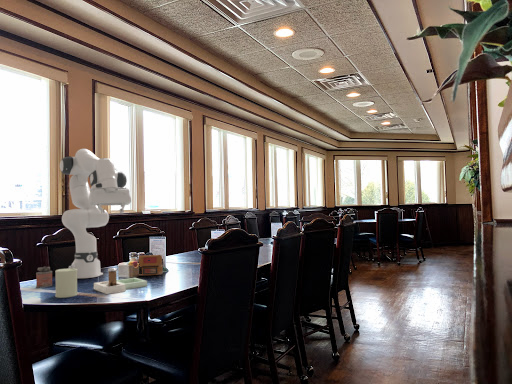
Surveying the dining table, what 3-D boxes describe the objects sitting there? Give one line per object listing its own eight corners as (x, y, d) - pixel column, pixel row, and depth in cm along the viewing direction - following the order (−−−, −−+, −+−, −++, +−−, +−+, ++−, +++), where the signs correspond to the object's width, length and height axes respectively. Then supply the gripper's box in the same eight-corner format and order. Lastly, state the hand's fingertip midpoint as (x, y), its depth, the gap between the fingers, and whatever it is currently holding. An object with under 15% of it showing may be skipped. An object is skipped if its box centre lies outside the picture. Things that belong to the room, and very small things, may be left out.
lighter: (50, 285, 216) (50, 265, 217) (53, 285, 214) (53, 266, 215) (34, 287, 210) (34, 267, 210) (38, 288, 208) (38, 268, 208)
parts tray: (112, 285, 211) (112, 280, 211) (134, 282, 218) (134, 277, 219) (123, 289, 200) (123, 284, 200) (147, 286, 208) (147, 280, 208)
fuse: (106, 290, 197) (106, 268, 197) (115, 288, 199) (114, 267, 200) (110, 291, 194) (109, 269, 194) (118, 289, 196) (118, 268, 197)
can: (76, 296, 186) (76, 269, 186) (53, 298, 183) (53, 270, 184) (78, 292, 195) (78, 266, 195) (57, 294, 192) (56, 268, 193)
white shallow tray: (93, 289, 203) (93, 282, 203) (111, 286, 208) (111, 280, 209) (106, 294, 190) (106, 287, 191) (125, 291, 196) (125, 284, 196)
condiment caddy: (175, 270, 261) (175, 251, 261) (174, 277, 233) (173, 256, 234) (129, 272, 257) (129, 253, 257) (122, 280, 229) (121, 258, 229)
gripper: (126, 189, 220) (130, 214, 216) (86, 190, 208) (89, 216, 203) (130, 184, 216) (135, 209, 212) (89, 184, 203) (93, 211, 199)
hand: (112, 212), depth 207 cm, fingers open, 8 cm apart
